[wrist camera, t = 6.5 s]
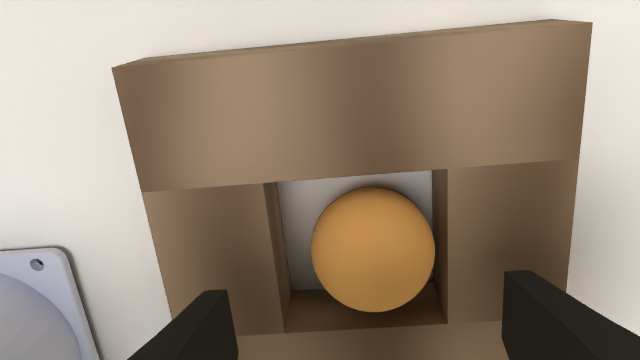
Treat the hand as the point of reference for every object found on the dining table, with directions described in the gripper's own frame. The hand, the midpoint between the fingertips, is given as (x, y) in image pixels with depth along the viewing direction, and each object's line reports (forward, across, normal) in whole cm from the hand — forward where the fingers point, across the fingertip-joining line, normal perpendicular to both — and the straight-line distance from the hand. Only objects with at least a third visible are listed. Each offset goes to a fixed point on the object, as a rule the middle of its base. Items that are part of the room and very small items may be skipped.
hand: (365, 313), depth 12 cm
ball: (+3, 0, 0) cm, 3 cm away
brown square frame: (+5, 0, 0) cm, 5 cm away
